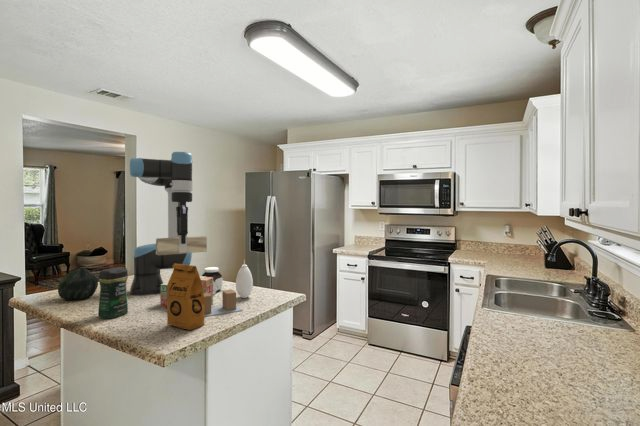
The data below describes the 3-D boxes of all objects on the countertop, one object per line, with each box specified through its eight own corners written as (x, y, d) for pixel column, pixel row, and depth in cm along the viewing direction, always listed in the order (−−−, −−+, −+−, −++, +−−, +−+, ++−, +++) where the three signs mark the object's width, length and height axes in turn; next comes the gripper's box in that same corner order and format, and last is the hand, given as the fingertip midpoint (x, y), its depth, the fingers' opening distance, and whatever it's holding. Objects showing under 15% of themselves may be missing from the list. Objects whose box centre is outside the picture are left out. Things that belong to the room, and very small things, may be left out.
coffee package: (186, 333, 112) (186, 268, 111) (162, 326, 118) (162, 264, 117) (209, 324, 120) (209, 263, 120) (186, 318, 126) (186, 260, 126)
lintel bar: (155, 254, 126) (155, 238, 126) (203, 250, 137) (203, 236, 137) (158, 255, 123) (158, 239, 123) (206, 251, 134) (206, 236, 134)
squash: (58, 284, 156) (58, 263, 148) (96, 281, 165) (99, 261, 157) (57, 310, 148) (57, 289, 140) (97, 305, 157) (100, 286, 149)
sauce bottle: (254, 298, 154) (254, 259, 153) (237, 300, 150) (237, 261, 150) (250, 294, 161) (250, 257, 160) (234, 296, 157) (234, 258, 157)
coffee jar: (110, 320, 124) (110, 270, 123) (94, 318, 126) (93, 269, 126) (132, 312, 133) (131, 266, 132) (116, 310, 135) (116, 265, 135)
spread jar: (217, 288, 173) (217, 266, 172) (228, 292, 165) (228, 269, 164) (194, 292, 164) (194, 269, 164) (205, 297, 156) (205, 272, 156)
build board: (191, 311, 135) (191, 293, 135) (235, 304, 145) (235, 287, 145) (196, 318, 127) (196, 299, 127) (242, 310, 136) (242, 292, 136)
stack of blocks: (159, 306, 142) (159, 277, 142) (168, 302, 148) (168, 274, 148) (205, 309, 138) (205, 279, 138) (213, 304, 144) (213, 276, 144)
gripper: (169, 192, 136) (169, 249, 136) (174, 190, 121) (174, 254, 121) (188, 193, 139) (189, 248, 140) (195, 191, 124) (195, 253, 125)
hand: (182, 251), depth 130 cm, fingers closed on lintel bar, 4 cm apart
